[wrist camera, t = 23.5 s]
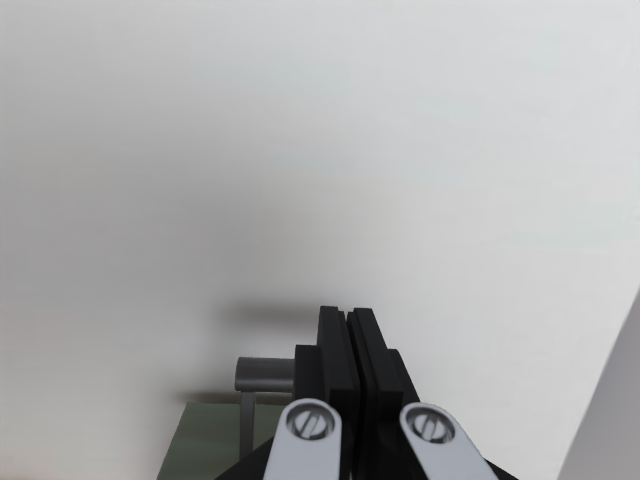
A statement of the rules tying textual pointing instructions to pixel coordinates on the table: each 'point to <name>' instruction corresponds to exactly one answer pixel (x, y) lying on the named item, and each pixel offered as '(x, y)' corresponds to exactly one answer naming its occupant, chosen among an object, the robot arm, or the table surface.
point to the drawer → (228, 423)
